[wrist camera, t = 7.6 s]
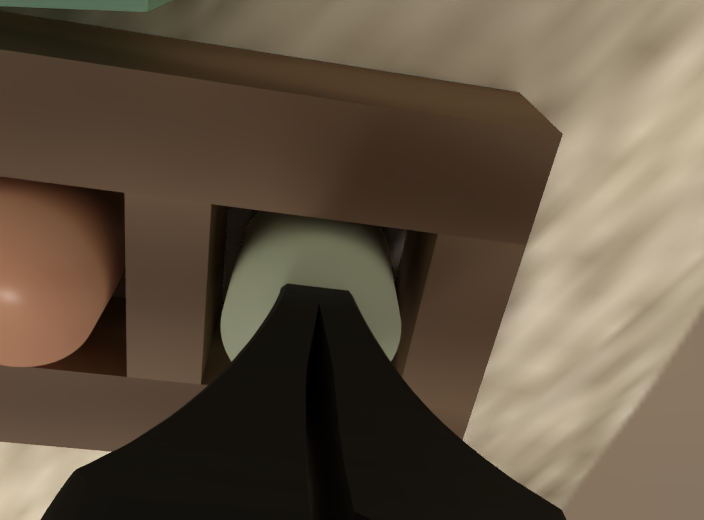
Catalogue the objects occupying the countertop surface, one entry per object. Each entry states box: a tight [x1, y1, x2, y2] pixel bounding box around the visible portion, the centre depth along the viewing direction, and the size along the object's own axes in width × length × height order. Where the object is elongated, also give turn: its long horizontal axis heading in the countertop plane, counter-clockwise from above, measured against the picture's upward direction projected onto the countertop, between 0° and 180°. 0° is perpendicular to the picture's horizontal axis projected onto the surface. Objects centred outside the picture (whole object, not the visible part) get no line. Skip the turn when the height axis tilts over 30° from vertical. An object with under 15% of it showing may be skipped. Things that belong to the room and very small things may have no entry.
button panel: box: [0, 11, 562, 452], centre depth 14 cm, size 9×20×3 cm, turn 81°
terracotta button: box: [0, 177, 126, 367], centre depth 13 cm, size 4×4×3 cm
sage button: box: [221, 210, 401, 361], centre depth 14 cm, size 4×4×3 cm
